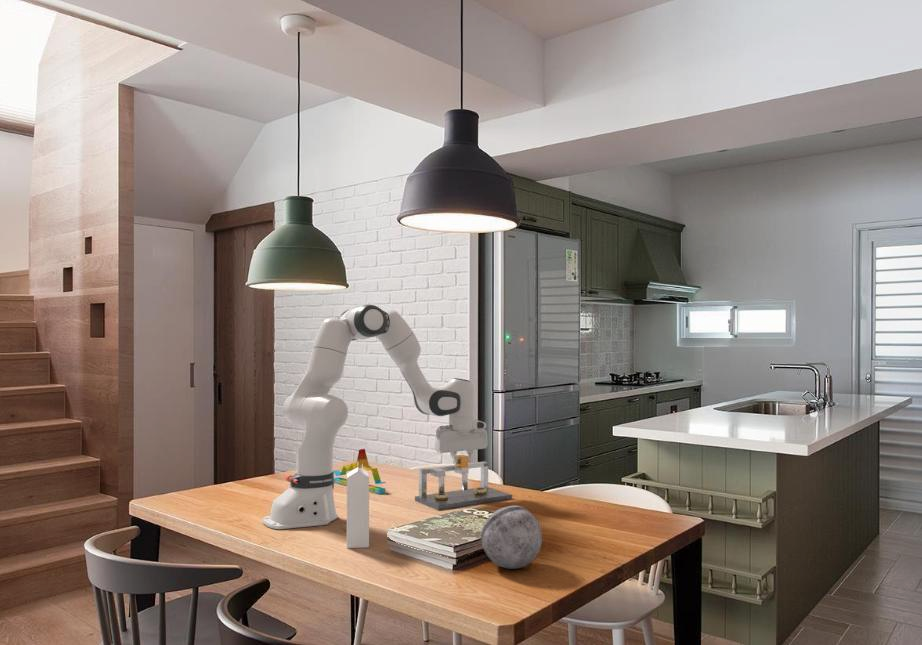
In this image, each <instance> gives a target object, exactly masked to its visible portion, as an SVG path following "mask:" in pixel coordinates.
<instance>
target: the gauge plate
mask: <svg viewBox="0 0 922 645" xmlns="http://www.w3.org/2000/svg"><path fill="white" fill-rule="evenodd" d="M454 466H455V464H450V465H444V466H443V465H442V466H434V467H424V468H418V495H415V496H414V501H415V502H416V503H419V504H421V505H425V506H427V507H430V508H432V509H434V510H436V511H437V510H438V511H441V510H443V511H444V510H449V509H454V508H460V507H461V508H462V507H467V506H468V507H469V506H475V505H480V504H485V503H486V504H487V503H495V502H499V501H507V500H511V499H512V498H513V494H511V493H508V492H504V491H501V490H498V489H495V488H492V487H489V461H485V460H484V461H477V462H470V463H468V468H469V470H470V469H477V468H480V487H474V488H468V490H462V489H459V490H453V491H445V477H446V472H452V471H454ZM427 474H430V475H431V476H432V477H436V478H438V492H437V493H429V494H428V490H427V489H428V488H427V487H428V485H427V484H428V483H427Z"/></svg>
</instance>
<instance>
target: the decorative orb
mask: <svg viewBox="0 0 922 645" xmlns="http://www.w3.org/2000/svg"><path fill="white" fill-rule="evenodd" d="M480 541H481V544H482V548H483V550H484V552H485V554H486V556H487V557H488V558H489V559H490V561H492V562H493V563H494V564H495V565H497V566H499V567H500V568H505V569H508V570H509V569H510V570H513V569H515V570H516V569H521V568H524V567H526V566H527V565H530V563H532V562H533V561H534V560H535V559H536V557H537V556H538V554H539V553H540V551H541V547H542V542H543V533H542V528H541V526H540V523H539V520H538V519H537V518H536V517H535V515H534V514H533V513H531V512H530V511H529V510H528V509H527V508H525V507H523V506H520V505H509V506H504V507H501V508H498V509H496V511H494V512H493V513H491V514H490V516H488V517H487V519H486V521H485V522H484V523H483V526H482V528H481V531H480Z"/></svg>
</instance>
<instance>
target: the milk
mask: <svg viewBox="0 0 922 645" xmlns="http://www.w3.org/2000/svg"><path fill="white" fill-rule="evenodd" d="M346 479H347V486H346V549H360V548H362V549H363V548H369V547H370V492H369V485H370V474H369V472H368V471H367V470H364V469H363V468H361V469H360V468H359V467H357V468H356V469H353V470H351V471H348V472H346Z"/></svg>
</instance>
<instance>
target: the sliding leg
mask: <svg viewBox="0 0 922 645" xmlns="http://www.w3.org/2000/svg"><path fill="white" fill-rule="evenodd" d="M456 457H457V459H459V464H456V465H455V464H454V465H455V466H454V473H455V474H456V473H457V474H459V475H461V490H468V489H469V488H468V487H469V486H468V482H469V481H468V478H469V477H468V476H469V475H468V474H469V473H470V472H469V471H470V469H469V468H468V456H467V454H457V455H456Z"/></svg>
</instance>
